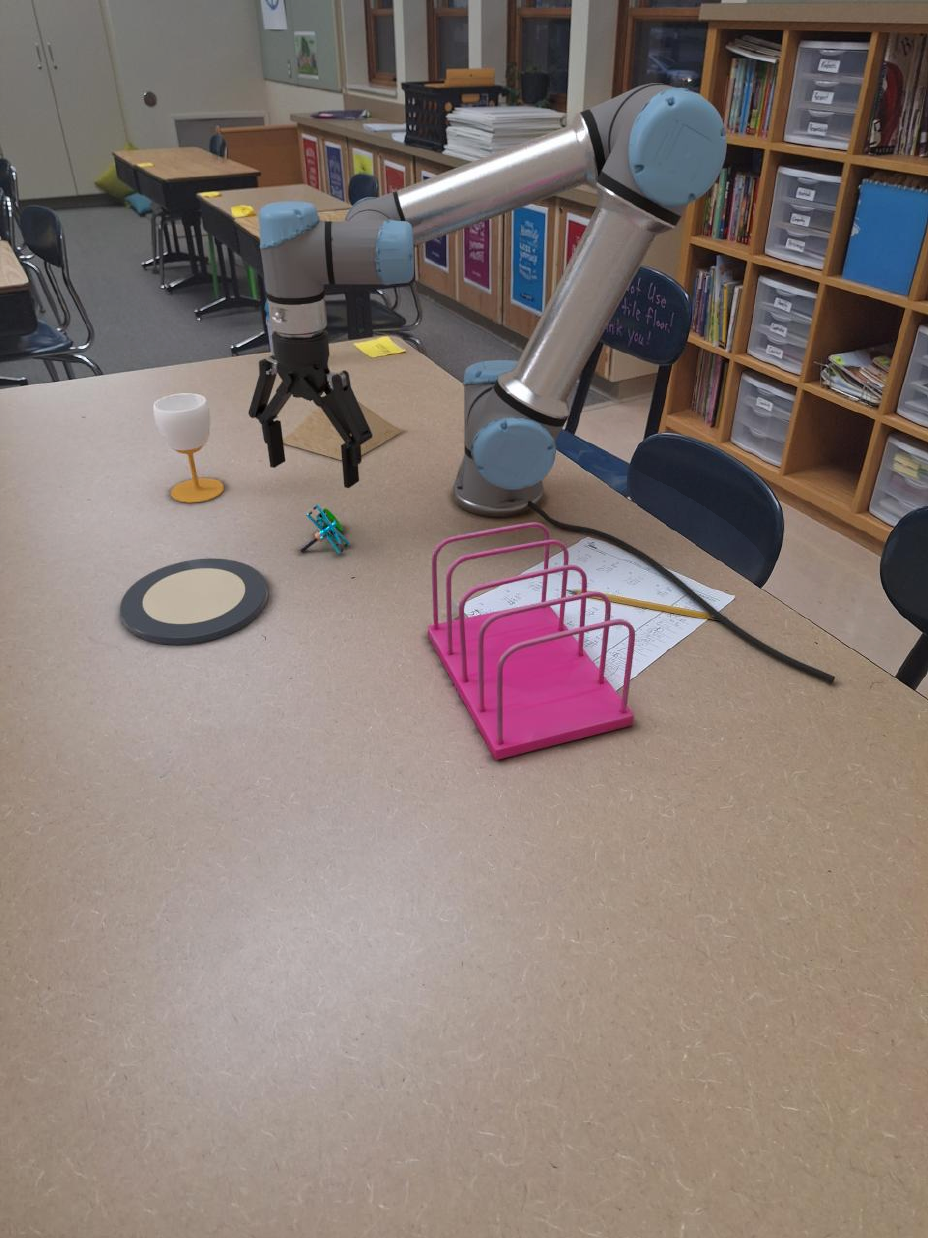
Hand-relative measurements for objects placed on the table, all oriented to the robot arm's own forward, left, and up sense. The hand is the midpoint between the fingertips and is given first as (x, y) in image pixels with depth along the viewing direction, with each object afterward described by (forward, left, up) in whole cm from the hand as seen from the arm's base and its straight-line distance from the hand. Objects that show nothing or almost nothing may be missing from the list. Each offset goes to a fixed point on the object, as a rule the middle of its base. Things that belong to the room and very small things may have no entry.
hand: (314, 474), depth 128 cm
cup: (+30, -4, -12) cm, 32 cm away
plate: (+6, +22, -12) cm, 26 cm away
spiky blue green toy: (0, 0, -12) cm, 12 cm away
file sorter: (-42, +15, -12) cm, 46 cm away
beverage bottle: (+56, -63, -12) cm, 85 cm away
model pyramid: (+21, -35, -12) cm, 43 cm away
